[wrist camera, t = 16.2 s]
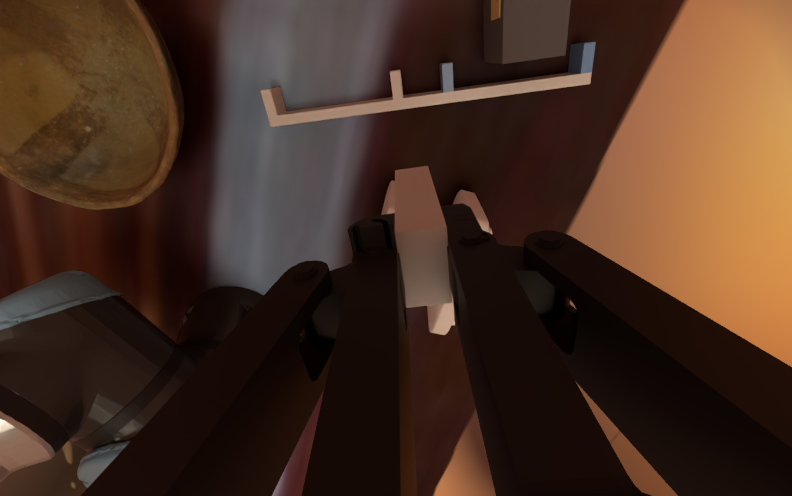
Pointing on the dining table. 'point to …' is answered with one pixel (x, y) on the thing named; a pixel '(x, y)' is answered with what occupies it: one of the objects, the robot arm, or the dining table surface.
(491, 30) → the dark brown block
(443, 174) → the dining table surface
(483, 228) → the cable organizer
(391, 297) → the robot arm
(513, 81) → the slotted rail
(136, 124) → the bowl
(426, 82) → the dining table surface
